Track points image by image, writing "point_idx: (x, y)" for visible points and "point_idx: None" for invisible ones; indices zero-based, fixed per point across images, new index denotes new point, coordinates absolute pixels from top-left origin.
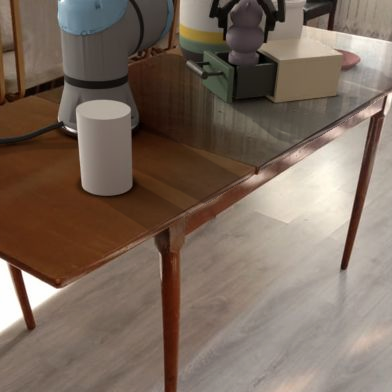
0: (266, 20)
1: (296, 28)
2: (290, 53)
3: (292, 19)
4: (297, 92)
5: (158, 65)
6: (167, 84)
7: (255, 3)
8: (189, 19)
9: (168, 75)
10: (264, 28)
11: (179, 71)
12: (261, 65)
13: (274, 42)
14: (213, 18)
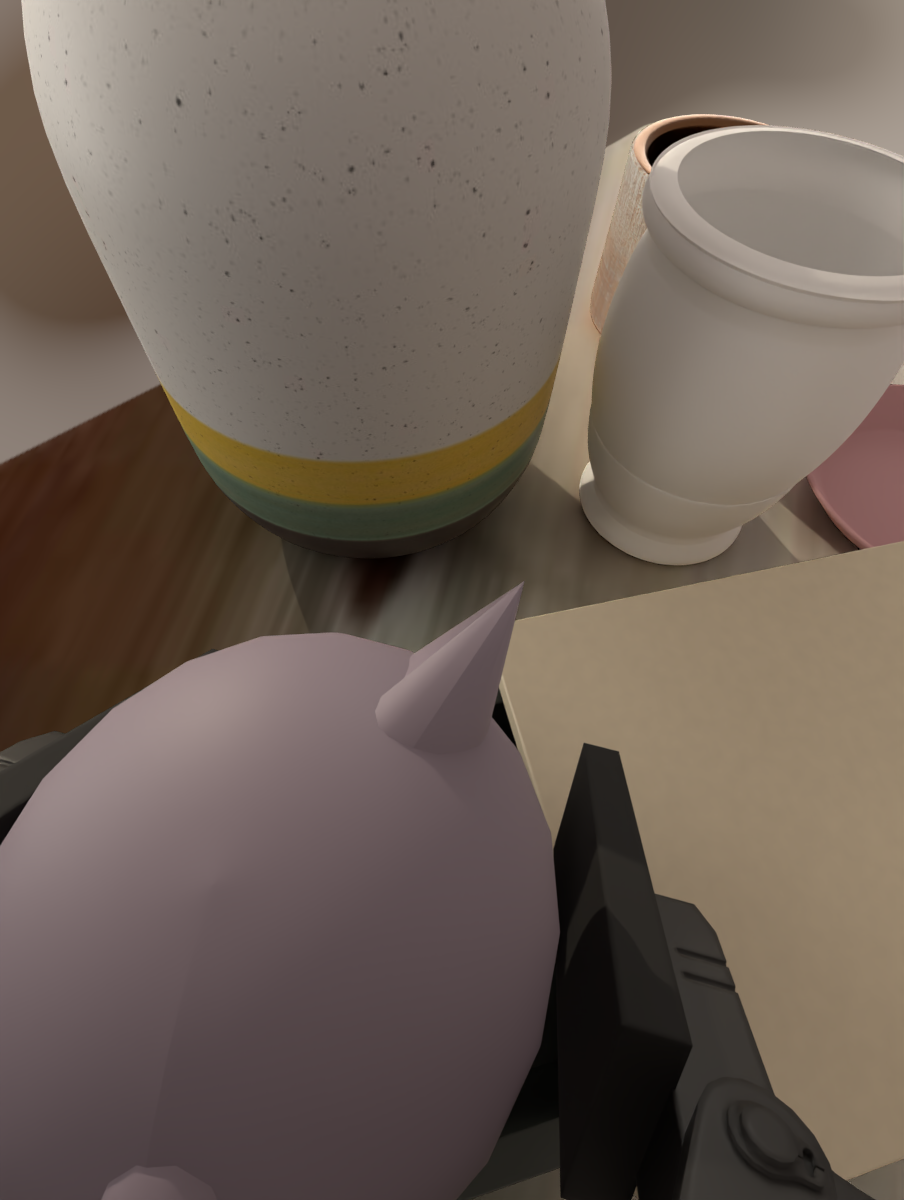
0: (586, 1148)
1: (841, 433)
2: (791, 963)
3: (840, 393)
4: None
5: (116, 475)
6: (29, 726)
7: (348, 1155)
8: (139, 339)
9: (101, 597)
10: (584, 792)
11: (180, 549)
12: (475, 1197)
13: (670, 640)
14: (254, 388)
